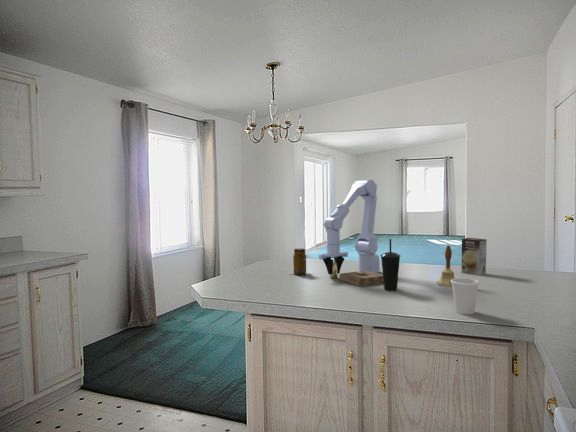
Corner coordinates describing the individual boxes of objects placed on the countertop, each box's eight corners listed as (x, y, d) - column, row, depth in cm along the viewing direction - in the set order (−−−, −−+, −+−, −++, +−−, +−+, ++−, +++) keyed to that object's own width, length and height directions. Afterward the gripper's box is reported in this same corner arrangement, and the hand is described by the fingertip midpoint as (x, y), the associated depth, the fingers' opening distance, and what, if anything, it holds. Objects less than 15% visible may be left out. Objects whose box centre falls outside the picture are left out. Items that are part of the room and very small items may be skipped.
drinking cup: (401, 288, 170) (401, 238, 169) (399, 292, 163) (399, 240, 162) (381, 286, 173) (381, 237, 172) (379, 291, 166) (379, 239, 165)
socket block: (365, 277, 193) (365, 270, 193) (385, 282, 181) (385, 275, 181) (339, 280, 187) (339, 273, 187) (359, 286, 175) (359, 279, 174)
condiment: (300, 272, 209) (300, 247, 208) (312, 274, 202) (312, 249, 202) (289, 274, 204) (288, 249, 203) (301, 276, 198) (300, 250, 197)
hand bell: (459, 283, 178) (459, 244, 177) (457, 287, 170) (458, 247, 169) (438, 281, 181) (438, 244, 180) (436, 285, 174) (436, 246, 173)
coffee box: (460, 272, 200) (460, 238, 199) (468, 271, 203) (468, 237, 202) (478, 275, 192) (479, 240, 191) (486, 273, 196) (487, 239, 195)
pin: (334, 276, 195) (334, 261, 195) (339, 278, 192) (339, 262, 192) (328, 277, 193) (328, 262, 193) (332, 279, 190) (332, 263, 190)
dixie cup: (450, 314, 133) (450, 282, 133) (450, 307, 141) (450, 277, 141) (480, 316, 130) (480, 284, 130) (478, 309, 138) (478, 278, 138)
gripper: (341, 241, 199) (341, 270, 199) (314, 244, 192) (315, 273, 193) (350, 243, 192) (350, 273, 193) (323, 245, 186) (323, 276, 187)
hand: (333, 273), depth 193 cm, fingers closed on pin, 3 cm apart
